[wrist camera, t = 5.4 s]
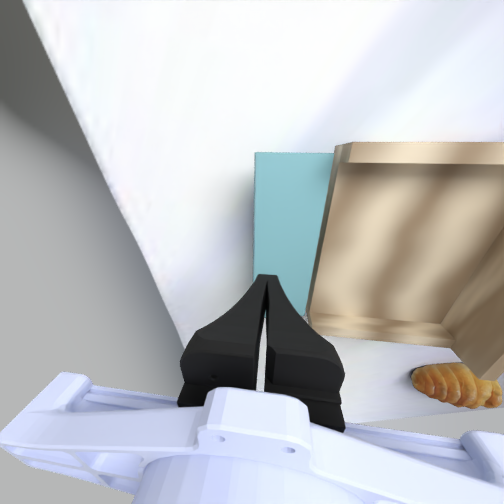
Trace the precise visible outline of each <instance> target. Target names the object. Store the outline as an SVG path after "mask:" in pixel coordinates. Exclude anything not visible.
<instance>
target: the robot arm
mask: <svg viewBox="0 0 504 504" xmlns="http://www.w3.org/2000/svg"><path fill="white" fill-rule="evenodd" d="M265 311H266V335H267V349H266V367H265V385H264V392H261V391H256V384H257V372H258V360H259V348H260V340H261V334H262V328H263V323H264V317H265ZM180 367H181V371H182V375H183V378H184V381H185V383H184V385H183V388H182V390H181V393H180V395H179V397H178V398H177V397H171V396H164V395H157V394H150V393H143V392H137V391H129V390H123V389H116V388H109V387H103V386H96V385H93V383H92V381H91V379H90V378H89V377H88V376H86V375H83V374H79V373H71V372H65V371H64V372H61V373H60V374H59V375H58V376H57V377H56V378H55V379H54V380H53V381H52V382H51V383H50V384H49V385H47V386H46V387H45V388H44V389H43V390H42V391H41V393H39V395H37V396H36V397H35V398H34V400H32V401H31V402H30V403H29V404H28V405H27V406H26V407H25V408H24V409H23V410H22V411H21V412H20V413H19V414H18V415H17V416H16V417H15V418H14V419H13V420H12V421H11V422H10V423H9V424H8V425H7V426H6V427H5V428H4V429H3V430H2V431H1V432H0V447H1V448H3V449H4V450H6V451H7V452H8V453H10V454H11V455H13V456H14V457H16V458H17V459H19V460H20V461H22V462H23V463H24V464H26V465H27V466H29V467H33V468H37V469H42V470H47V471H51V472H55V473H59V474H63V475H67V476H71V477H74V478H77V479H81V480H85V481H88V482H91V483H95V484H99V485H102V486H105V487H108V488H112V489H115V490H119V491H122V492H126V493H129V494H132V495H135V497H134V499H133V502H132V504H504V434H500V433H494V432H486V431H479V430H471V431H467V432H465V433H464V434H462V436H461V437H460V439H455V438H448V437H441V436H434V435H428V434H421V433H414V432H407V431H401V430H394V429H387V428H380V427H373V426H367V425H360V424H353V423H347V422H344V418H343V414H342V410H341V407H340V405H341V397H340V394H339V391H340V388H341V386H342V383H343V381H344V377H345V372H344V369H343V365H342V363H341V360H340V358H339V356H338V354H337V352H336V350H335V348H334V346H333V345H332V344H331V343H329V342H328V341H327V340H325V339H324V338H323V337H322V336H320V335H319V334H318V333H317V332H316V331H315V330H314V329H312V328H311V327H310V326H309V325H308V323H307V322H306V321H305V320H304V319H303V318H302V317H301V316H300V315H299V313H298V312H297V311H296V310H295V308H294V307H293V305H292V304H291V302H290V301H289V299H288V298H287V296H286V294H285V292H284V290H283V288H282V286H281V284H280V281H279V278H278V276H277V275H269V274H258V275H257V277H256V279H255V281H254V283H253V284H252V286H251V287H250V288H249V290H248V291H247V292H246V293H245V295H244V296H243V297H242V298H241V299H240V300H239V301H238V302H237V303H236V304H235V305H234V306H233V307H232V308H231V309H230V310H229V311H227V312H226V313H225V314H224V315H222V316H221V317H219V318H218V319H217V320H215V321H214V322H212V323H210V324H209V325H207V326H205V327H203V328H201V329H199V330H197V331H196V332H195V333H194V335H193V337H192V338H191V340H190V341H189V343H188V345H187V347H186V349H185V351H184V353H183V355H182V357H181V360H180Z"/></svg>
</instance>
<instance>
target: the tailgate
mask: <svg viewBox="0 0 504 504" xmlns="http://www.w3.org/2000/svg"><path fill="white" fill-rule="evenodd" d="M333 158H334V153H272V152H256V153H255V171H254V243H253V283H254V281H255V279H256V277H257V275H258V274H269V275H277V276H278V278H279V281H280V284H281V286H282V288H283V290H284V292H285V294H286V296H287V298H288V299H289V301H290V302H291V304H292V305H293V307H294V308H295V310H296V311H297V312H298V313H299V315H300V316H304V315H305V309H306V304H307V299H308V293H309V288H310V282H311V277H312V272H313V266H314V261H315V255H316V250H317V245H318V239H319V234H320V228H321V223H322V218H323V212H324V207H325V201H326V196H327V191H328V185H329V180H330V174H331V169H332V164H333ZM264 318H266V311H265V317H264Z"/></svg>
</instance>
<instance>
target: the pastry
mask: <svg viewBox="0 0 504 504" xmlns="http://www.w3.org/2000/svg"><path fill="white" fill-rule="evenodd" d="M411 379H412V383H413V386H414V387H415V388H416V389H417V390H418V391H420V392H422V393H423V394H426V395H427V396H428V397H430V398H434V399H438V400H439V401H441V402H443V403H444V402H448V403H450V404H452V405H454V406H456V407H464V406H465V407H468V408H470V409H475V408H477V407H479V406H484V407H486V408H494V407H498V406H499V405H501V403H502V389H501V387H500V385H499V383H498V381H497V379H496V380H495V381H488V380H479V379H478V378H477V377H476V376H475V375H474V374H473V372H472V371H471V370H470V369H469V368H468V367H467V366H466V365H465V364H463V363H443V364H432V365H425V366H424V367H421V368H416V369H415V371H413V374H412V376H411Z"/></svg>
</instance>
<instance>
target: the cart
mask: <svg viewBox="0 0 504 504" xmlns="http://www.w3.org/2000/svg"><path fill="white" fill-rule="evenodd" d="M306 312H307V317H308V322H309V326H310V327H311V328H312V329H314V330H315V331H316V332H317V333H318V334H319V335H326V336H336V337H346V338H356V339H365V340H375V341H385V342H395V343H405V344H414V345H424V346H434V347H444V348H451V350H452V351H453V352H454V353H455V354H456V355H457V356H458V357H459V358H460V359H461V360H462V362H463V363H464V364H465V365H466V366H467V367H468V368H469V369H470V370H471V371H472V372H473V374H474V375H475V376H476V377H477V378H478V379H479V380H488V381H495V380H496V379H497V378H498V377H499V376H500V375H501V374H502V373H504V142H351V143H346V144H342V145H337V146H335V151H334V158H333V164H332V169H331V174H330V180H329V185H328V191H327V196H326V201H325V207H324V212H323V218H322V223H321V228H320V234H319V239H318V245H317V250H316V255H315V261H314V266H313V272H312V277H311V282H310V288H309V293H308V299H307V304H306Z"/></svg>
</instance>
